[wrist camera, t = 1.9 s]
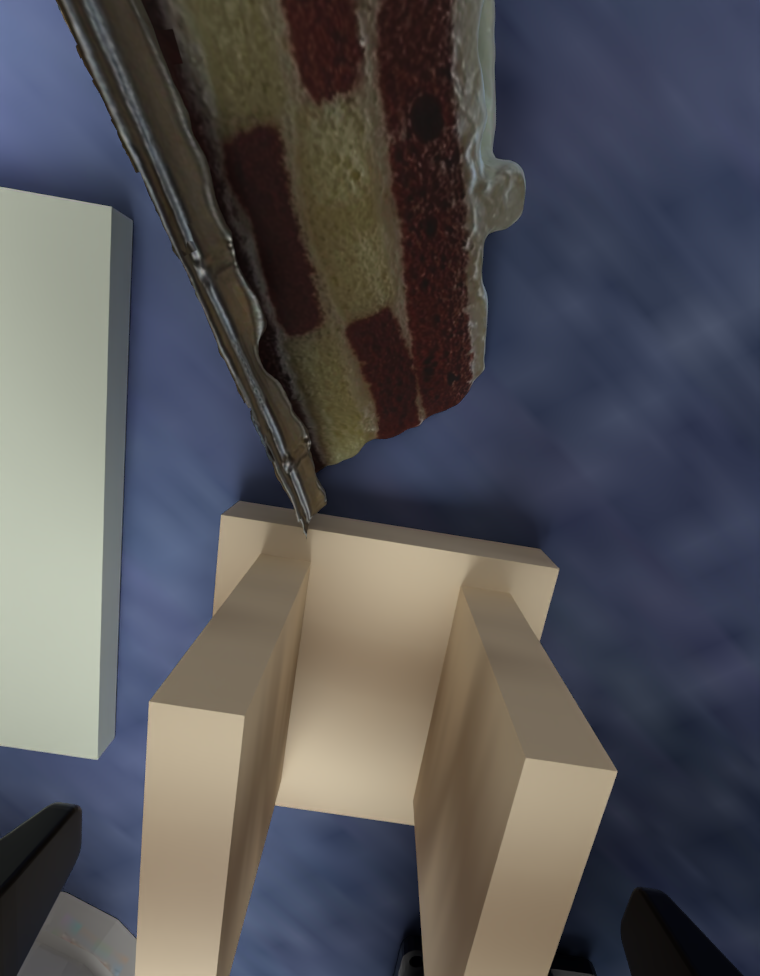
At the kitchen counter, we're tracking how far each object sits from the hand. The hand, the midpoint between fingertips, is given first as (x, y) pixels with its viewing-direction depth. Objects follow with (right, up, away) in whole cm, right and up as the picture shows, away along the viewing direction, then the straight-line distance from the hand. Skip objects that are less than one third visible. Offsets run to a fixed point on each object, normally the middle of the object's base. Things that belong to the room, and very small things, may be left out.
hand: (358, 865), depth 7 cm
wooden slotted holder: (0, +1, +6) cm, 6 cm away
